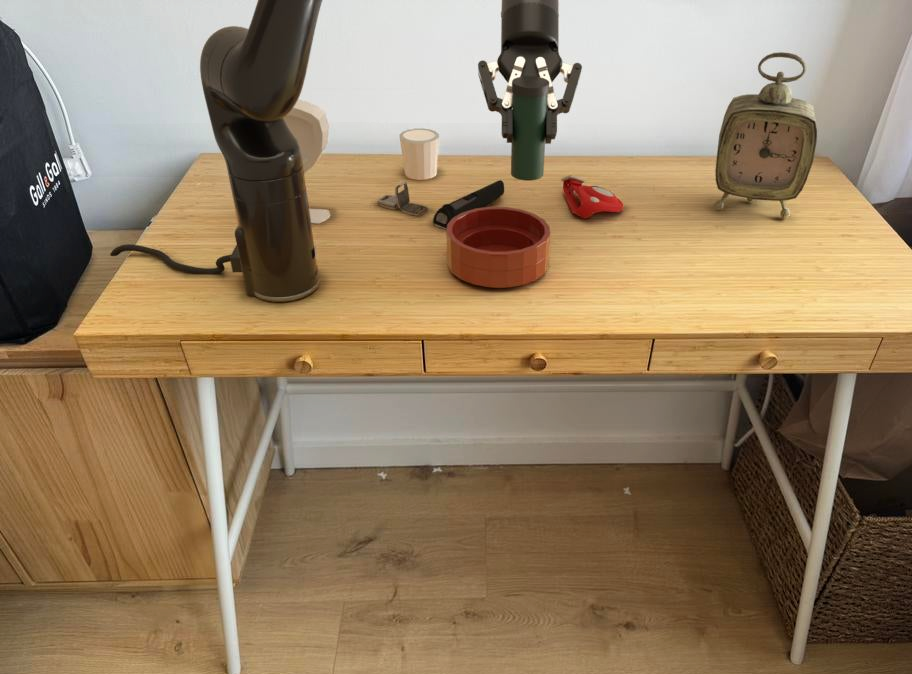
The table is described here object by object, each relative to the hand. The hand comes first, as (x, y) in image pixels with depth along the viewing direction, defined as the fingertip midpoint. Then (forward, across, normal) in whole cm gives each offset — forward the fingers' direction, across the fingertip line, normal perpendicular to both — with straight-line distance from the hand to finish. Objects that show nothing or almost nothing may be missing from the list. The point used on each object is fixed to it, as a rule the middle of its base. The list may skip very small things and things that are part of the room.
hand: (529, 140), depth 105 cm
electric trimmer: (0, -8, +28) cm, 30 cm away
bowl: (+12, -4, +16) cm, 20 cm away
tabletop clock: (-3, +39, +31) cm, 49 cm away
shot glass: (-11, -17, +39) cm, 44 cm away
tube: (+2, 0, +5) cm, 6 cm away
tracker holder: (-2, +12, +31) cm, 33 cm away
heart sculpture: (+1, -37, +27) cm, 46 cm away
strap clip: (-1, -19, +29) cm, 35 cm away
